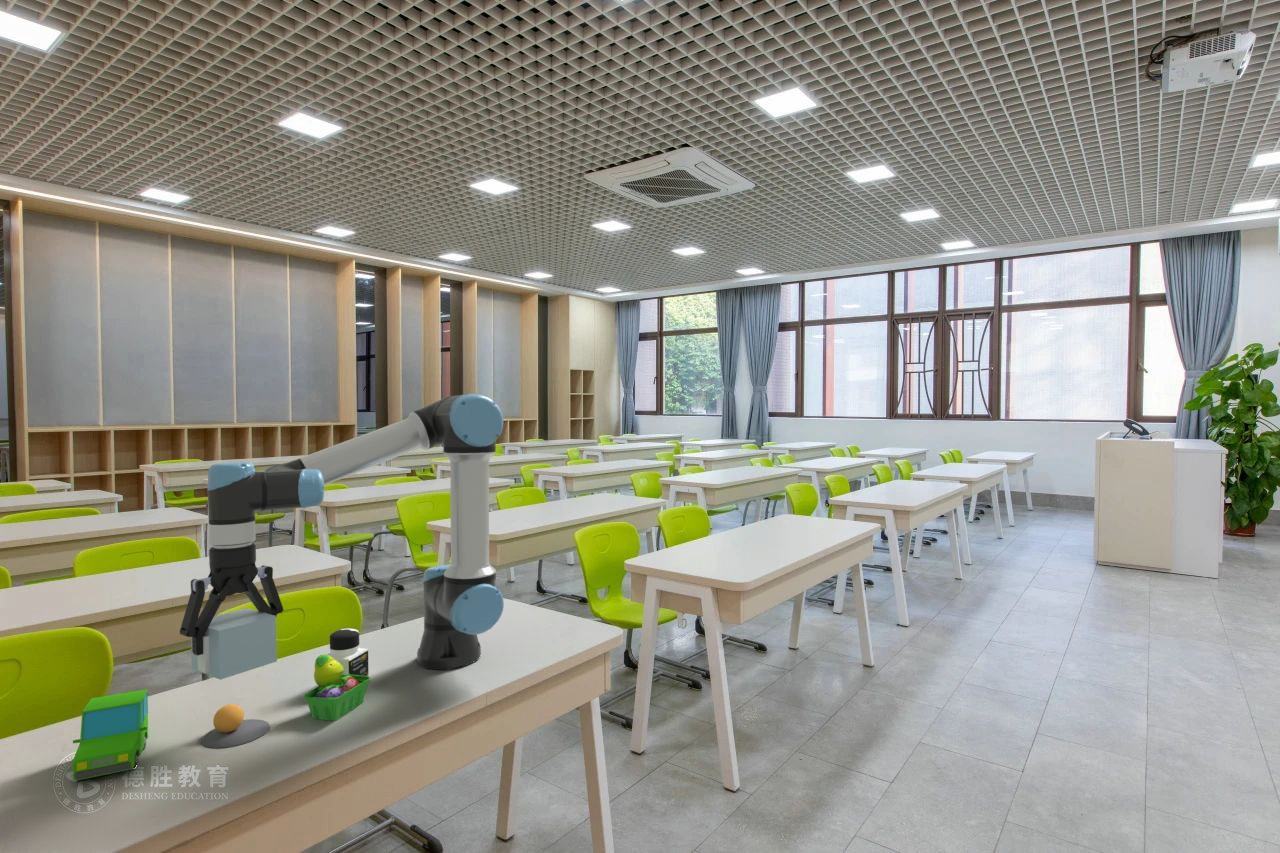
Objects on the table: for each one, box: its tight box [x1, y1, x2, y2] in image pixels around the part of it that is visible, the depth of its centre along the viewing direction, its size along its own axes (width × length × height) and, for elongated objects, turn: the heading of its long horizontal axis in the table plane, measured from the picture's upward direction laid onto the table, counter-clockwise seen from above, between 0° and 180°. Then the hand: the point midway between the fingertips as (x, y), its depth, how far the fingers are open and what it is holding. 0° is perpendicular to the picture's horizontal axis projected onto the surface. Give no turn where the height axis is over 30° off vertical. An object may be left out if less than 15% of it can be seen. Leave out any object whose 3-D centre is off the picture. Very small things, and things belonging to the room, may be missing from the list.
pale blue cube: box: [190, 607, 278, 681], centre depth 126 cm, size 10×10×9 cm
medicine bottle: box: [326, 628, 370, 677], centre depth 149 cm, size 7×7×12 cm
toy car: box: [72, 688, 149, 782], centre depth 115 cm, size 10×13×10 cm
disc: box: [201, 718, 271, 749], centre depth 126 cm, size 11×11×1 cm
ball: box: [212, 703, 245, 733], centre depth 127 cm, size 5×5×5 cm
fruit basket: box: [303, 653, 371, 722], centre depth 136 cm, size 11×9×11 cm
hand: (235, 661), depth 126 cm, fingers closed on pale blue cube, 10 cm apart
